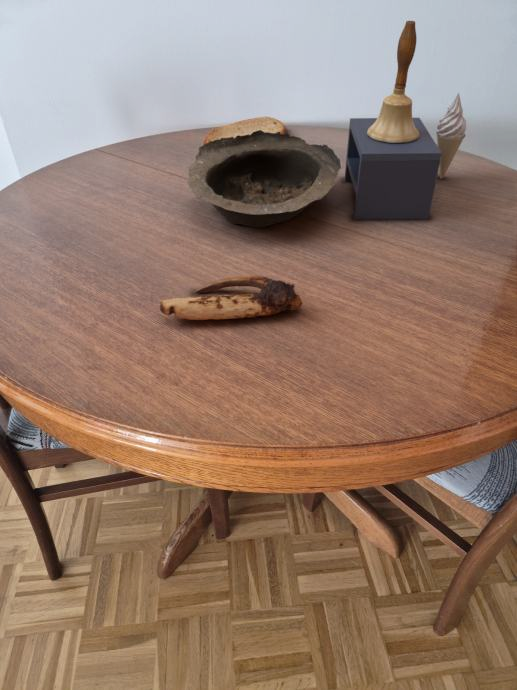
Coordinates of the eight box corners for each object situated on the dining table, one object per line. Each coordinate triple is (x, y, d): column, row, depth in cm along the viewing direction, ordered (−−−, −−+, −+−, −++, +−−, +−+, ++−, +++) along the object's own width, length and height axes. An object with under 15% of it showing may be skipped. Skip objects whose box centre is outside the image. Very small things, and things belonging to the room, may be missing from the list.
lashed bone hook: (293, 285, 76) (163, 292, 74) (294, 256, 73) (159, 262, 71) (304, 325, 68) (161, 334, 67) (307, 294, 66) (156, 302, 64)
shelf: (409, 178, 101) (419, 117, 94) (428, 219, 89) (441, 153, 82) (344, 178, 101) (349, 118, 94) (354, 219, 89) (361, 153, 82)
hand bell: (390, 122, 92) (405, 13, 82) (429, 135, 87) (451, 21, 77) (356, 133, 88) (367, 21, 78) (395, 148, 83) (413, 30, 73)
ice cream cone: (422, 175, 102) (437, 90, 92) (444, 170, 103) (462, 86, 94) (437, 185, 98) (456, 98, 89) (461, 181, 100) (481, 94, 90)
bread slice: (283, 126, 123) (283, 108, 121) (292, 156, 110) (292, 138, 107) (204, 129, 123) (203, 112, 120) (203, 160, 109) (201, 141, 106)
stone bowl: (291, 166, 105) (295, 118, 99) (362, 232, 89) (372, 180, 83) (169, 190, 97) (164, 139, 91) (222, 266, 81) (221, 212, 75)
